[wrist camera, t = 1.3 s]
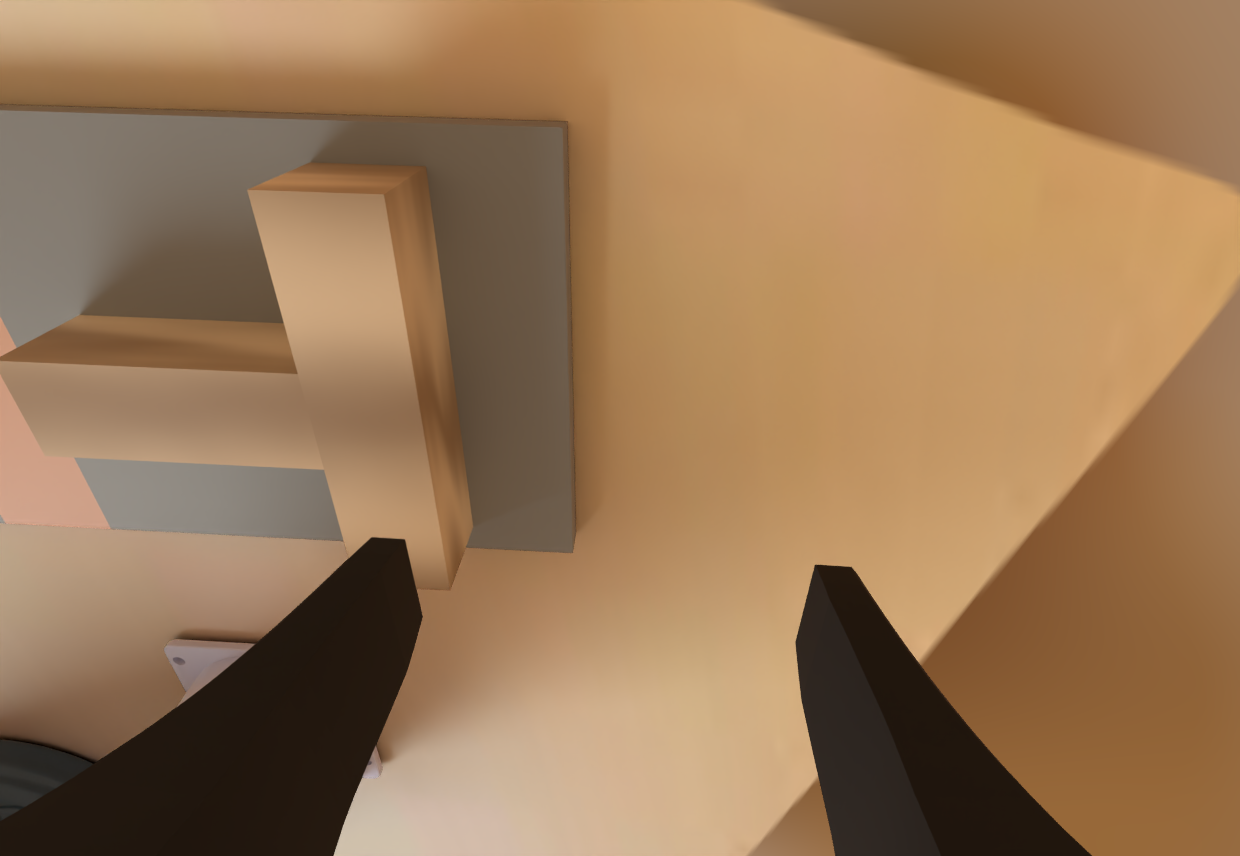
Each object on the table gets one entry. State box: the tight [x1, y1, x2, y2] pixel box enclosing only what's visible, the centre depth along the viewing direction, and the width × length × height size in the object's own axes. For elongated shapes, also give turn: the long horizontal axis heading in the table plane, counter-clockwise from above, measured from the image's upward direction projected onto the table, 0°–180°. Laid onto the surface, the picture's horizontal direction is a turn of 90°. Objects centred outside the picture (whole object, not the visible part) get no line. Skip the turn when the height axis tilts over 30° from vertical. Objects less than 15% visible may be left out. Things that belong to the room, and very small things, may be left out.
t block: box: [0, 162, 473, 590], centre depth 19 cm, size 12×11×3 cm
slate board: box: [0, 104, 576, 553], centre depth 21 cm, size 14×32×1 cm, turn 89°
